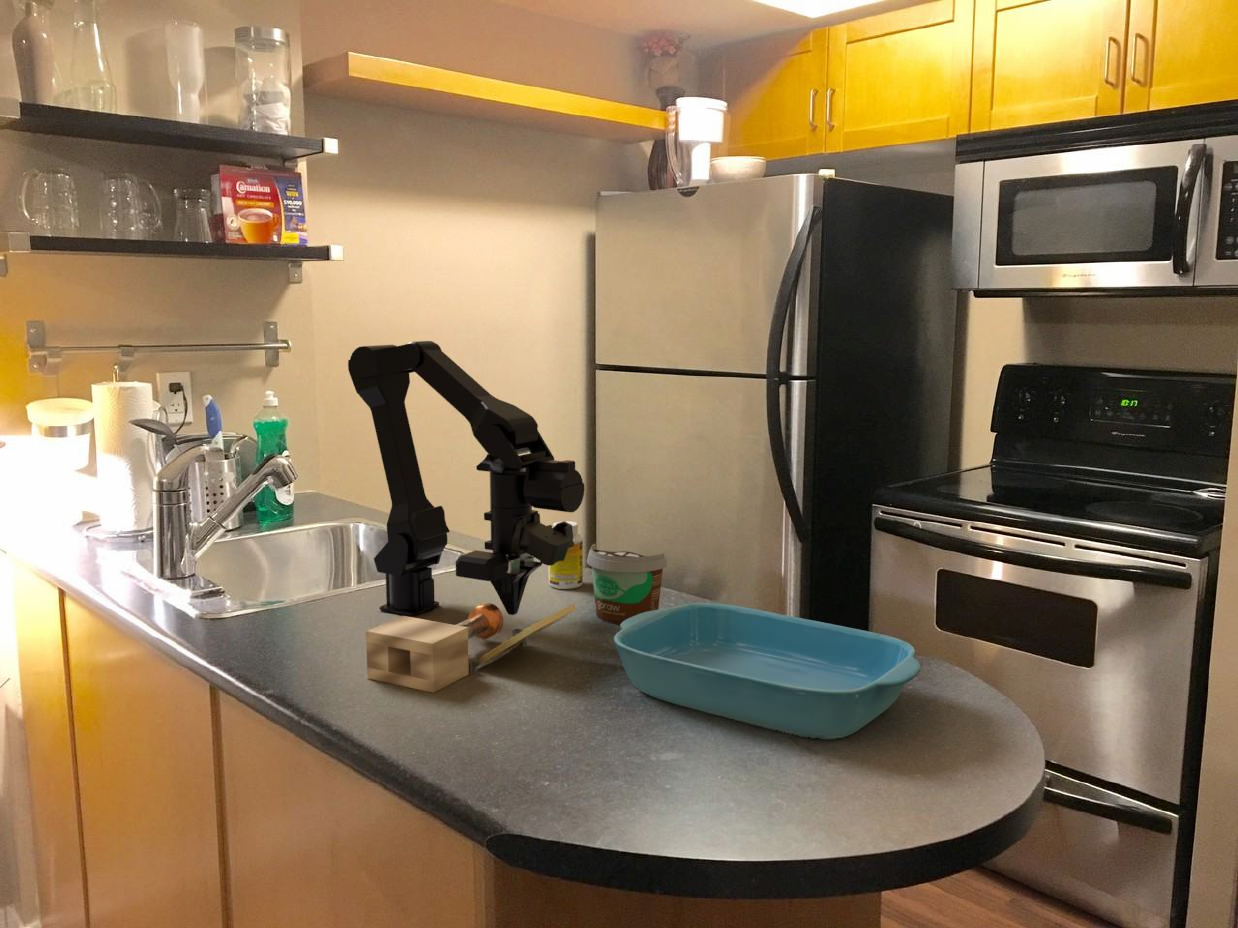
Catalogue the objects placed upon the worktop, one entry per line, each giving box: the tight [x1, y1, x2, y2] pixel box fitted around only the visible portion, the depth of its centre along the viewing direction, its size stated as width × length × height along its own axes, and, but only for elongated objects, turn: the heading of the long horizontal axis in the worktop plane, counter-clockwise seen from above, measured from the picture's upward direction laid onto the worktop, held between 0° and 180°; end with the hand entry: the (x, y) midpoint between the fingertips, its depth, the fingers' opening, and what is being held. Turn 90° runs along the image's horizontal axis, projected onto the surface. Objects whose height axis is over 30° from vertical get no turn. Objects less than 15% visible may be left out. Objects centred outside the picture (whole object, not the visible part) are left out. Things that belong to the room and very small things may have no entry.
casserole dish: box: [613, 602, 922, 740], centre depth 123 cm, size 37×22×7 cm, turn 54°
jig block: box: [365, 615, 470, 694], centre depth 129 cm, size 10×7×6 cm
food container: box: [586, 543, 668, 625], centre depth 151 cm, size 12×6×10 cm, turn 62°
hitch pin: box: [455, 602, 505, 640], centre depth 137 cm, size 4×13×4 cm, turn 152°
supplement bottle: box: [547, 520, 584, 590], centre depth 169 cm, size 6×6×10 cm
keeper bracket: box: [468, 628, 528, 675], centre depth 136 cm, size 2×13×2 cm, turn 152°
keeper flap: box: [476, 603, 577, 668], centre depth 133 cm, size 11×10×1 cm
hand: (512, 614), depth 147 cm, fingers closed
